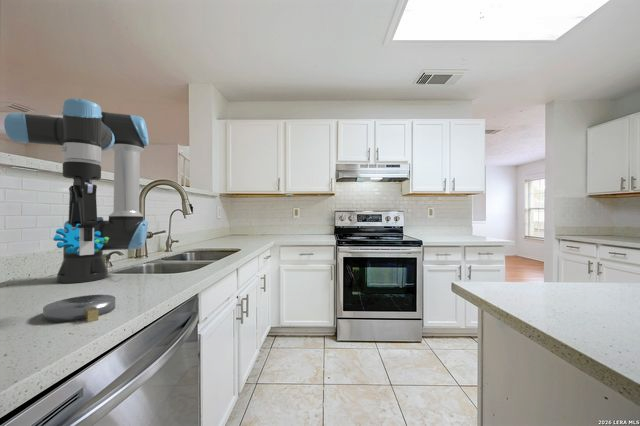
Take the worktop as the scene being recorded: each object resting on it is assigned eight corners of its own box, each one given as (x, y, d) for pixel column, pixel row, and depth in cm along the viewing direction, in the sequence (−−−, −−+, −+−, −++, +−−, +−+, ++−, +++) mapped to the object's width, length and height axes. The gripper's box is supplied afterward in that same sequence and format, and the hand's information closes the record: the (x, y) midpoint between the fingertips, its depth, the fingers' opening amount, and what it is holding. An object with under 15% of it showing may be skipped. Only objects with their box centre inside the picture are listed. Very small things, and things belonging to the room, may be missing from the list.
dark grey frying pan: (37, 313, 72) (38, 303, 72) (105, 300, 83) (105, 291, 83) (52, 330, 62) (52, 318, 62) (127, 313, 73) (127, 303, 73)
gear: (54, 250, 66) (54, 219, 71) (47, 267, 68) (48, 235, 74) (111, 252, 75) (108, 224, 80) (104, 267, 77) (101, 239, 82)
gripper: (53, 165, 77) (53, 251, 77) (74, 155, 64) (73, 259, 64) (89, 168, 83) (88, 248, 83) (114, 160, 70) (113, 255, 70)
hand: (81, 253), depth 73 cm, fingers closed on gear, 8 cm apart
